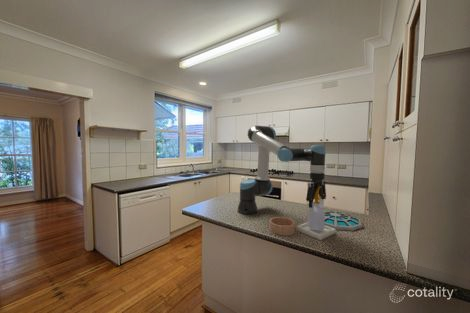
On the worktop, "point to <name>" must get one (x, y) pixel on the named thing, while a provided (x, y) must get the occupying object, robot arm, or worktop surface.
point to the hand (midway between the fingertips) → (316, 211)
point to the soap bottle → (316, 215)
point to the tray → (314, 233)
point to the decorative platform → (341, 221)
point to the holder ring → (286, 223)
